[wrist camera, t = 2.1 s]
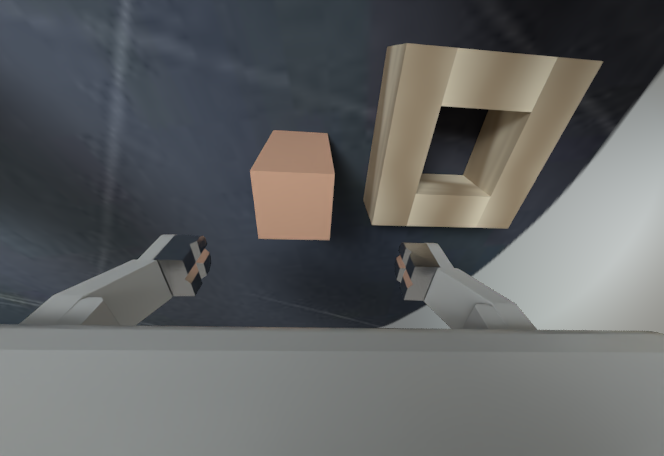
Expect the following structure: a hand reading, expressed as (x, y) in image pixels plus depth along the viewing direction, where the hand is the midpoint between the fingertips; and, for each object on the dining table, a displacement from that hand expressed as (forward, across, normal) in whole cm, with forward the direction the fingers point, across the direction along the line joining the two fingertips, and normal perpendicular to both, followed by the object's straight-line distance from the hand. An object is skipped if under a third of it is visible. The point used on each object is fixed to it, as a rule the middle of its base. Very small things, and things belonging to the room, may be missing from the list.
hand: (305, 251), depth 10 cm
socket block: (+11, -10, -2) cm, 15 cm away
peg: (+11, +1, 0) cm, 11 cm away
